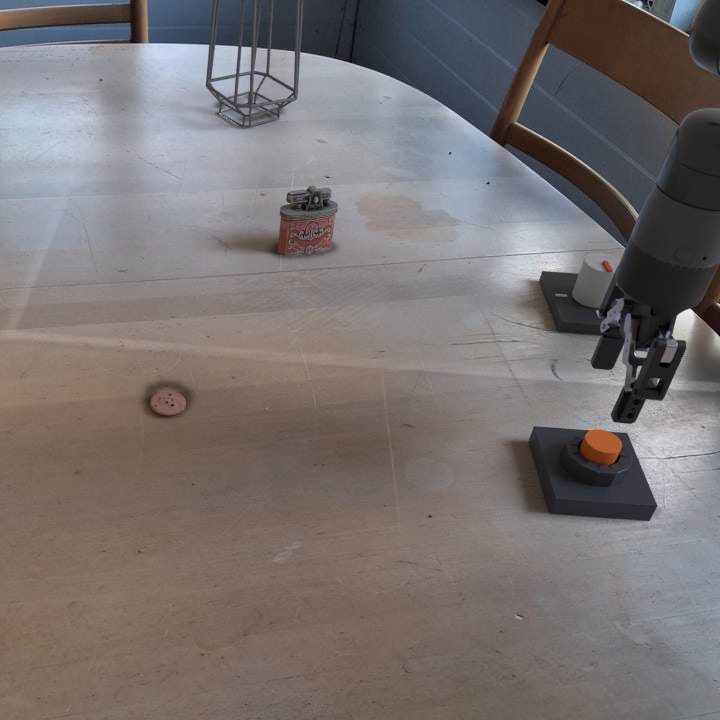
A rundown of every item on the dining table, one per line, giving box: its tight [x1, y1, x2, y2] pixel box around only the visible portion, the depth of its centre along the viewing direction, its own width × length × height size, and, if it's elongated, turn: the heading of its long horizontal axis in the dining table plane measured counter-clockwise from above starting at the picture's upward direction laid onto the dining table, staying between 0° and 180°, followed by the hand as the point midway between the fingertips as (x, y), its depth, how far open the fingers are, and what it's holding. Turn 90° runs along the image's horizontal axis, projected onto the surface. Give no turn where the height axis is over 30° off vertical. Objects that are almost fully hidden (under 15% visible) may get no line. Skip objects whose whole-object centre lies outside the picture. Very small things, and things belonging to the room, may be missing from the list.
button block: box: [528, 425, 658, 522], centre depth 92 cm, size 10×11×4 cm
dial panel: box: [538, 270, 619, 337], centre depth 115 cm, size 10×12×3 cm
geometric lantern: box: [205, 0, 304, 128], centre depth 145 cm, size 16×16×35 cm
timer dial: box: [572, 252, 621, 308], centre depth 112 cm, size 5×5×5 cm
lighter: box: [277, 185, 339, 257], centre depth 119 cm, size 8×3×10 cm, turn 111°
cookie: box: [149, 390, 187, 417], centre depth 98 cm, size 4×4×1 cm
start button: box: [580, 428, 622, 465], centre depth 90 cm, size 4×4×2 cm
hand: (610, 393), depth 88 cm, fingers open, 8 cm apart
